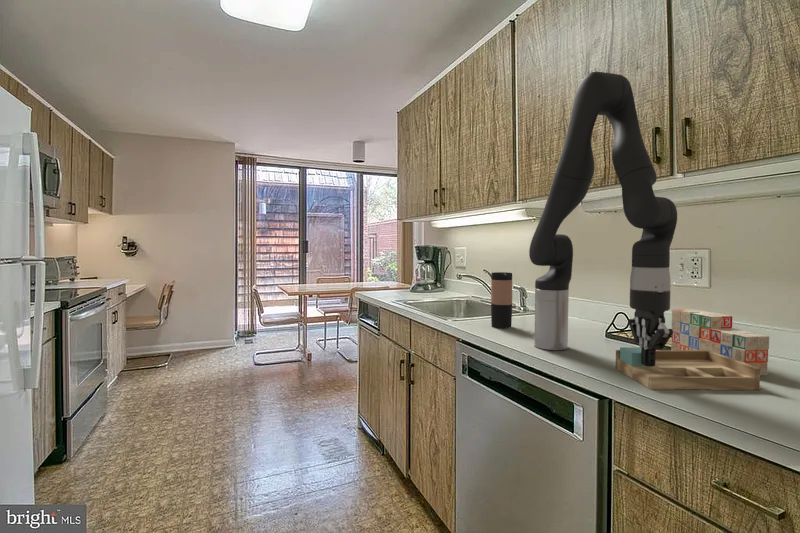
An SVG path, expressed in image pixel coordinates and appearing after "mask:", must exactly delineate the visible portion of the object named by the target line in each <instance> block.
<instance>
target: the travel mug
mask: <svg viewBox="0 0 800 533" xmlns="http://www.w3.org/2000/svg"><path fill="white" fill-rule="evenodd" d="M490 279H491V280H490V282H491V283H490V284H491V289H490V314H491V315H490V316H491V320H490V321H491V327H492V328H495V329H510V328H512V318H513V273H512V272H506V271H503V272H502V271H500V272H499V271H497V272H491V278H490Z"/></svg>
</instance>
